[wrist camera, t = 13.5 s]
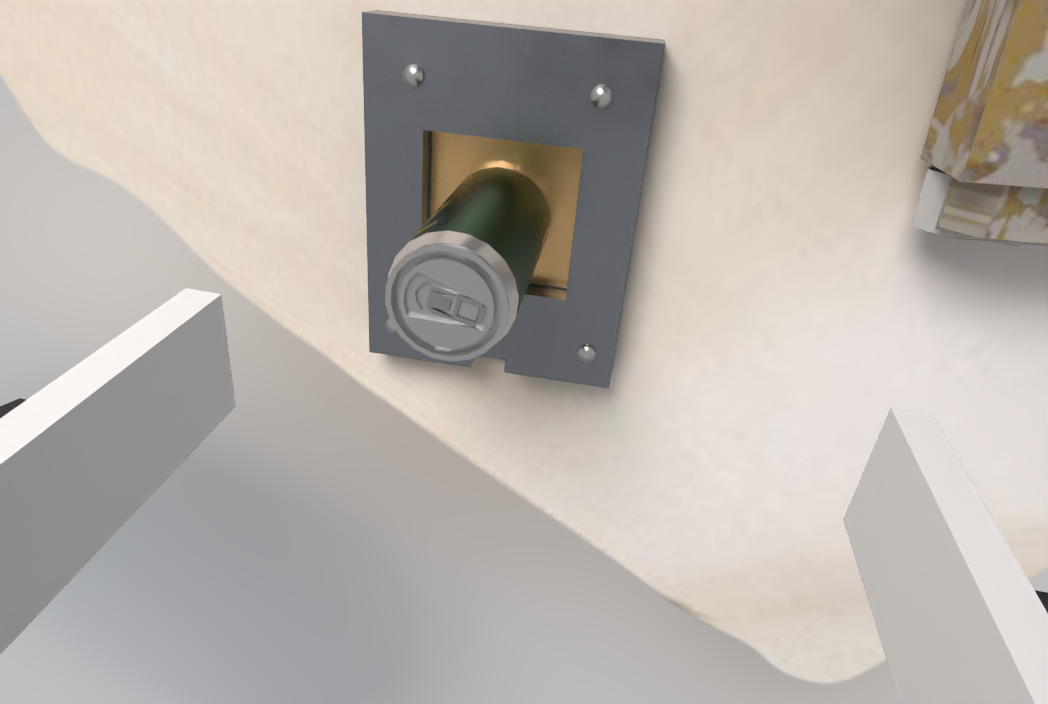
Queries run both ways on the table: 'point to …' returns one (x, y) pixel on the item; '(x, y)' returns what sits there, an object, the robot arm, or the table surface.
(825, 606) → the table surface
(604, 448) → the table surface
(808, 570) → the table surface
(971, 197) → the toy tank
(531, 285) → the chassis plate
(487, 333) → the beer can
